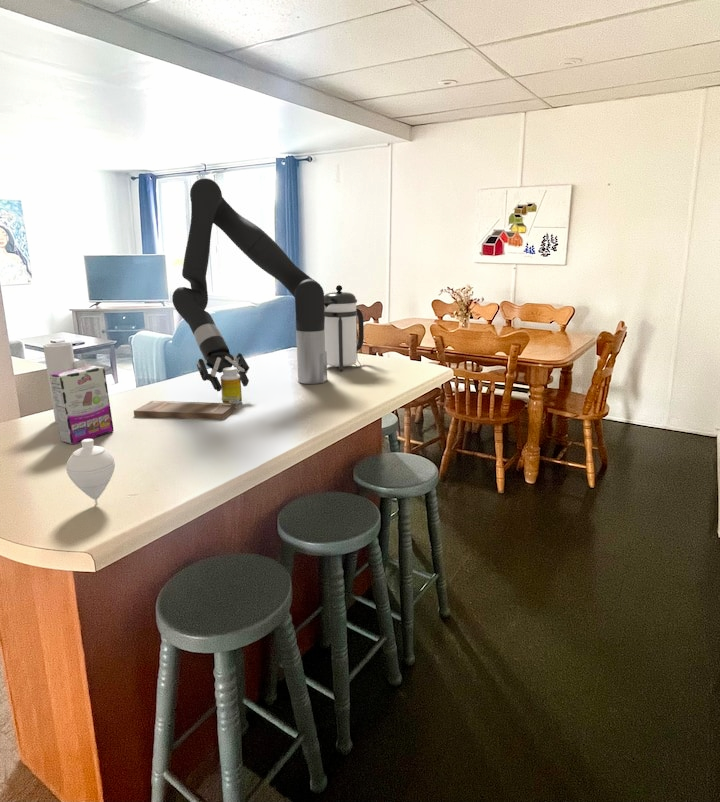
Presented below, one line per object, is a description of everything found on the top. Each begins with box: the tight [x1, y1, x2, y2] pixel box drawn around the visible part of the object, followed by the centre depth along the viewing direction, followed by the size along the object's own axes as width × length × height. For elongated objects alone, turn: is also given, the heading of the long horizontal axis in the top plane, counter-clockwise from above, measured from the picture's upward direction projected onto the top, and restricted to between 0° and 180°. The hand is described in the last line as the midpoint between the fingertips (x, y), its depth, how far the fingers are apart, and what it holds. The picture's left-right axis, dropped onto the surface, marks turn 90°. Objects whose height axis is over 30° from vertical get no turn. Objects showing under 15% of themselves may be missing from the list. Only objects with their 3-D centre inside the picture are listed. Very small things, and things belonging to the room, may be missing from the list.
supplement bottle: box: [220, 366, 243, 405], centre depth 163 cm, size 6×6×10 cm
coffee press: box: [324, 284, 365, 372], centre depth 208 cm, size 17×16×30 cm
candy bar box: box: [50, 364, 115, 445], centre depth 134 cm, size 11×5×16 cm, turn 148°
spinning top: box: [65, 438, 116, 505], centre depth 99 cm, size 8×8×12 cm
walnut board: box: [133, 400, 238, 420], centre depth 155 cm, size 25×10×2 cm, turn 82°
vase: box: [42, 342, 87, 424], centre depth 147 cm, size 11×7×20 cm, turn 66°
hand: (233, 387), depth 162 cm, fingers open, 8 cm apart
